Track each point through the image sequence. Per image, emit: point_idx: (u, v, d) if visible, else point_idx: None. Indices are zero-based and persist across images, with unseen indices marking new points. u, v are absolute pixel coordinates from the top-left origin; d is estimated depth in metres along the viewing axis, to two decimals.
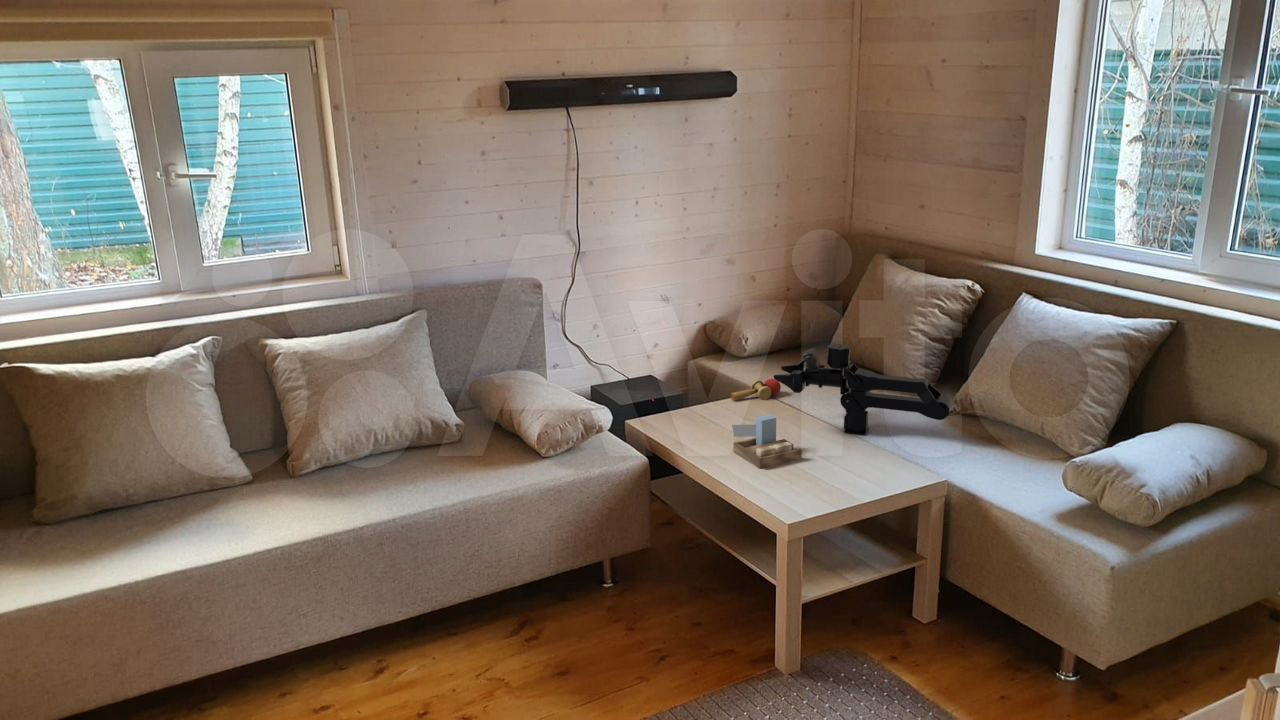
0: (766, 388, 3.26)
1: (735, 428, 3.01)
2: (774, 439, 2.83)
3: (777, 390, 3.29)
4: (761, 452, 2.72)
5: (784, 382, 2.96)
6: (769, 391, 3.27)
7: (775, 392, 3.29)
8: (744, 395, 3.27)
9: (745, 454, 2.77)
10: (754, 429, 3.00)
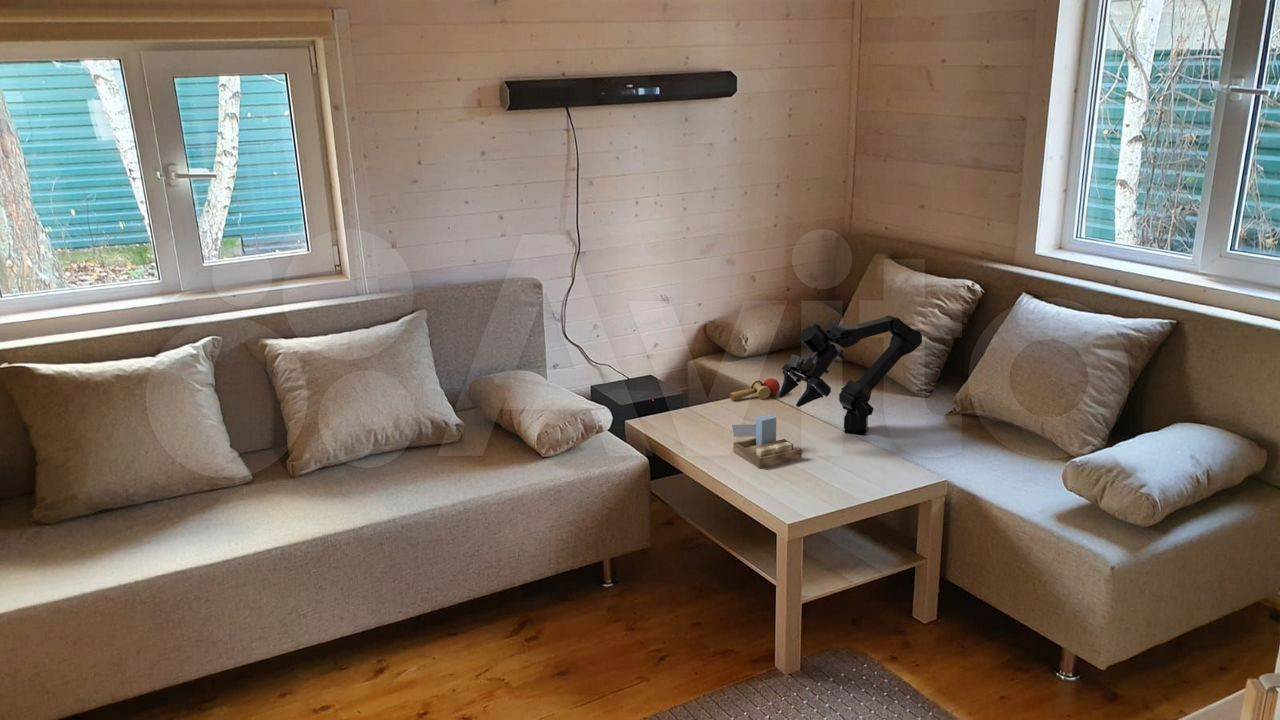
0: (765, 388, 3.26)
1: (735, 428, 3.01)
2: (774, 439, 2.83)
3: (776, 390, 3.29)
4: (761, 452, 2.72)
5: (809, 399, 2.80)
6: (768, 391, 3.27)
7: (774, 392, 3.29)
8: (743, 395, 3.27)
9: (745, 454, 2.77)
10: (754, 429, 3.00)
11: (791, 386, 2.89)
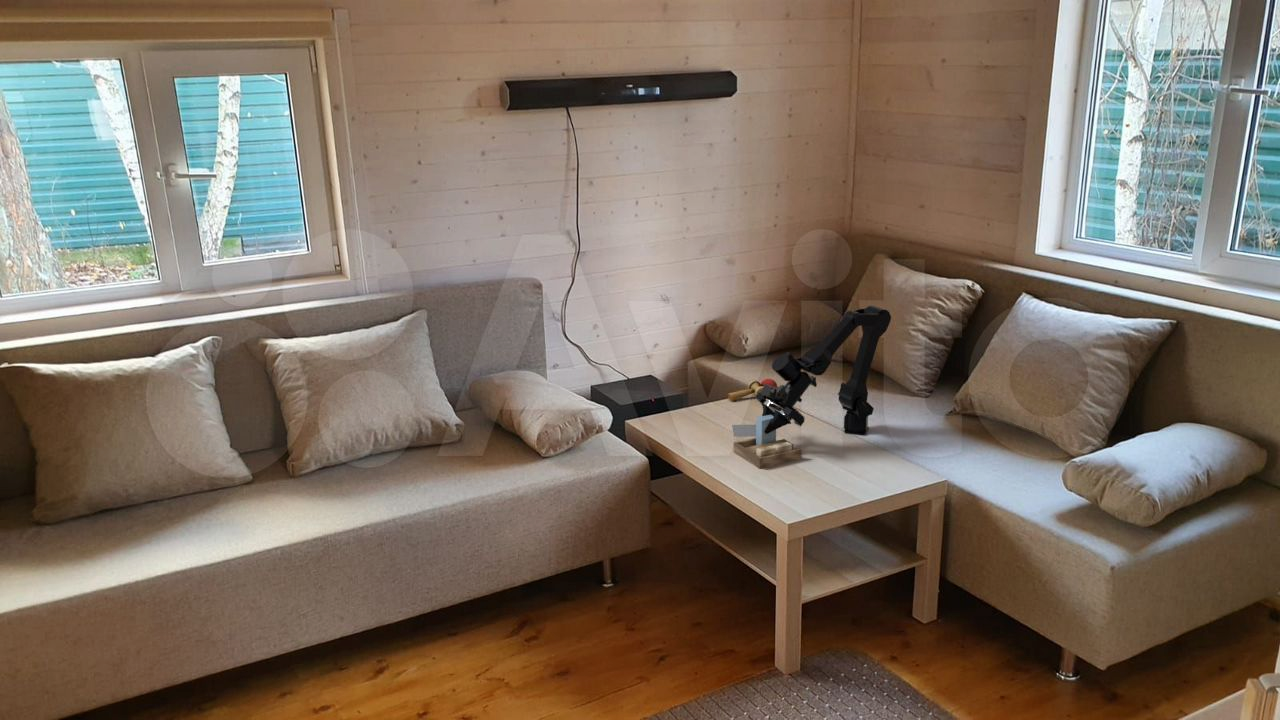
0: None
1: (735, 428, 3.01)
2: (774, 439, 2.83)
3: None
4: (761, 452, 2.72)
5: (777, 426, 2.80)
6: None
7: None
8: (741, 395, 3.27)
9: (745, 454, 2.77)
10: (754, 429, 3.00)
11: None
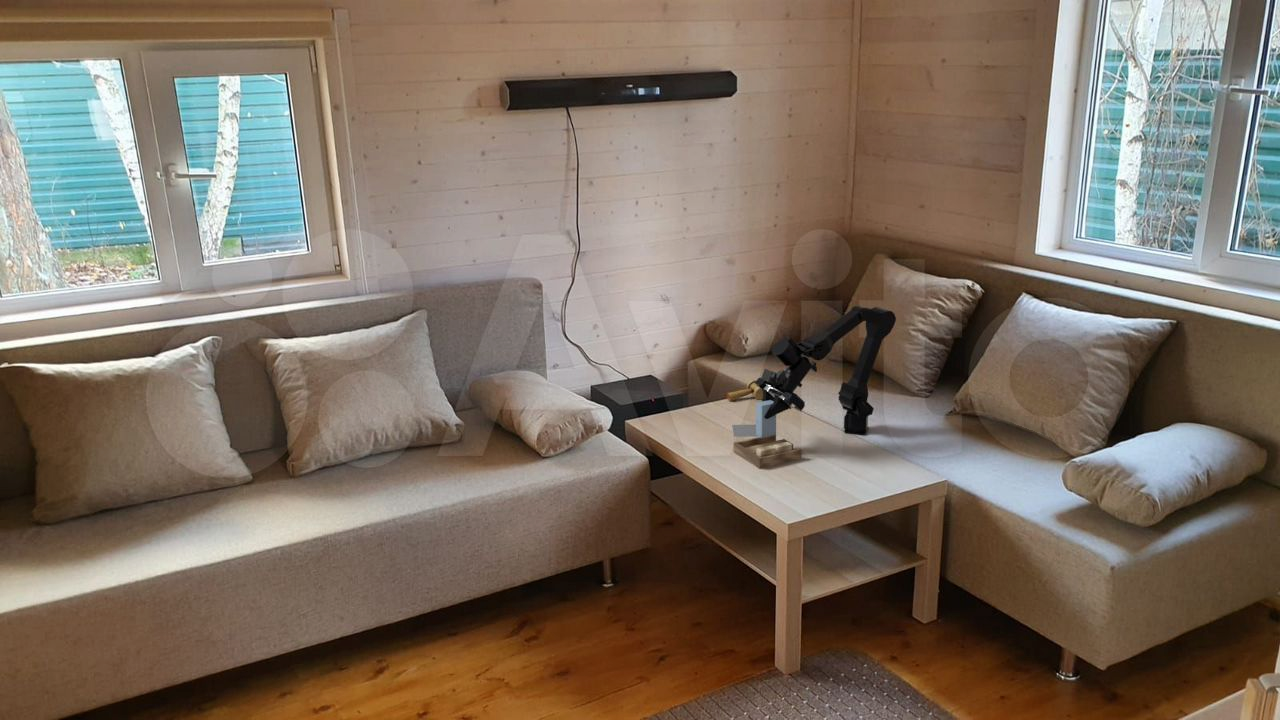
0: None
1: (735, 428, 3.01)
2: (774, 424, 2.81)
3: None
4: (761, 452, 2.72)
5: (777, 411, 2.79)
6: None
7: None
8: (740, 395, 3.27)
9: (745, 454, 2.77)
10: (754, 429, 3.00)
11: None
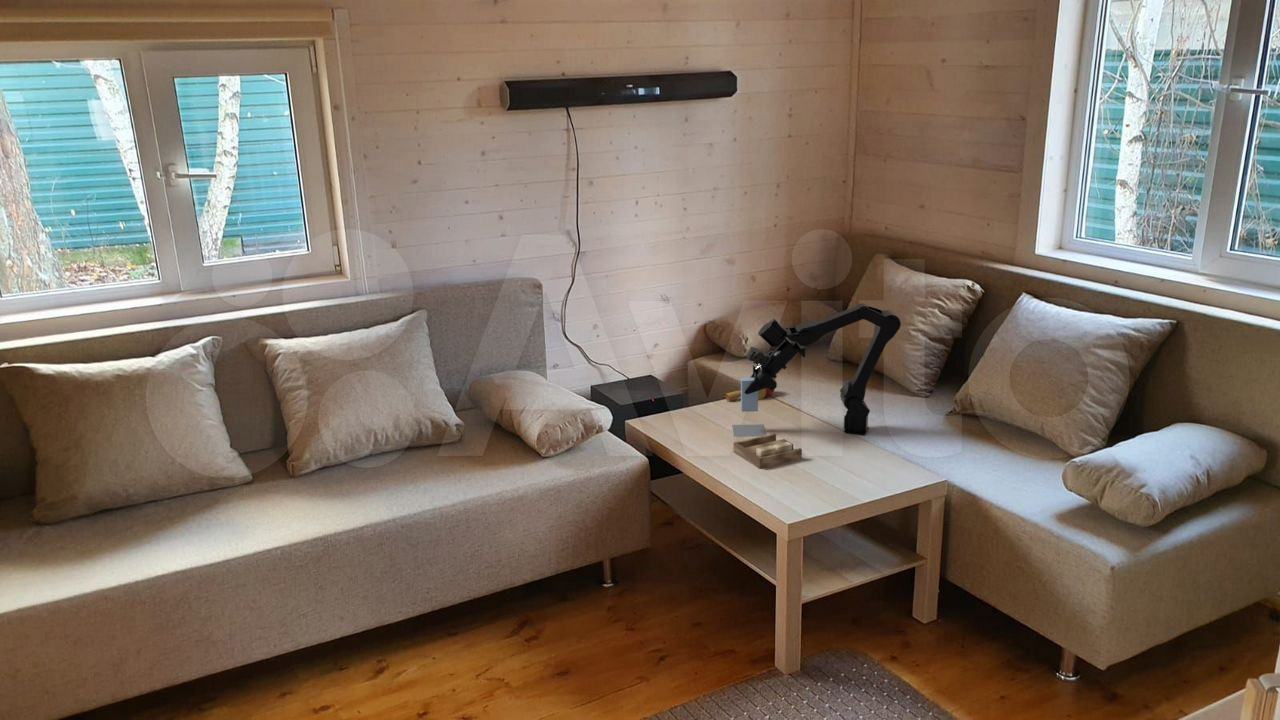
0: None
1: (735, 428, 3.01)
2: (756, 401, 2.94)
3: None
4: (761, 452, 2.72)
5: (757, 388, 2.92)
6: (764, 391, 3.27)
7: (770, 392, 3.29)
8: (739, 395, 3.27)
9: (745, 454, 2.77)
10: (754, 429, 3.00)
11: None
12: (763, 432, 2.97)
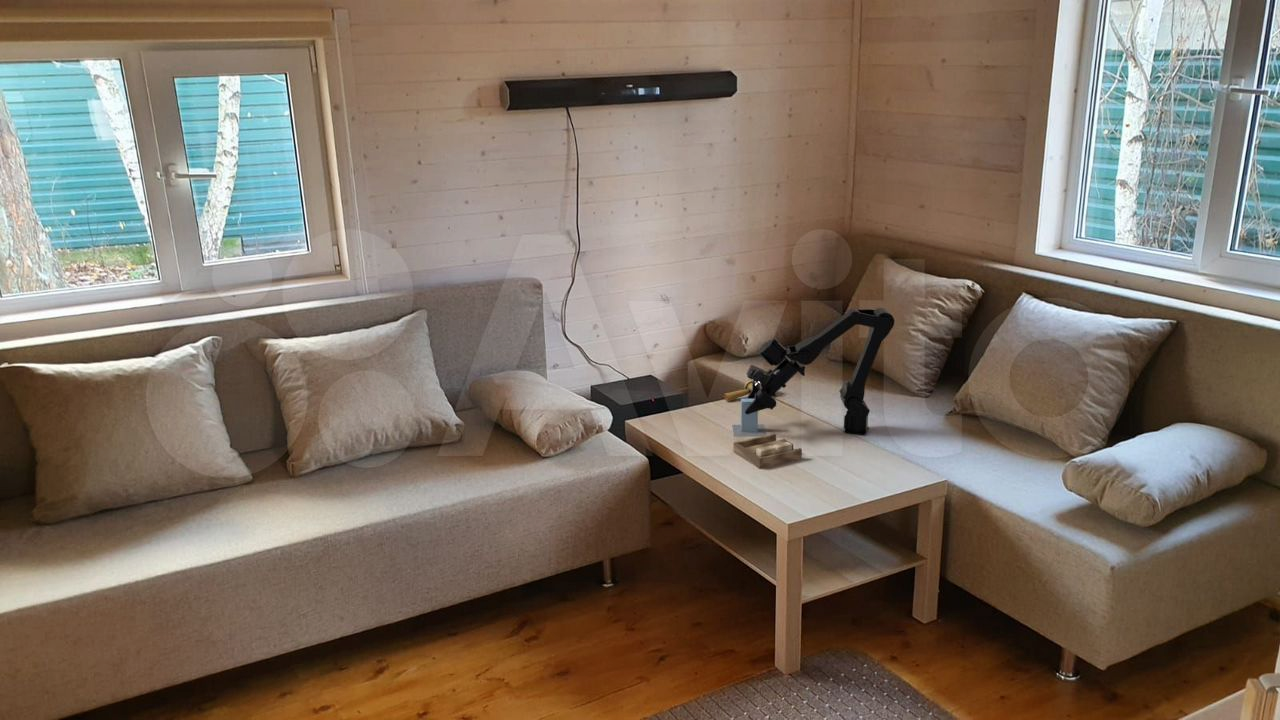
0: None
1: (735, 428, 3.01)
2: (756, 422, 2.96)
3: None
4: (761, 452, 2.72)
5: (757, 409, 2.92)
6: None
7: None
8: (738, 395, 3.27)
9: (745, 454, 2.77)
10: None
11: None
12: (763, 432, 2.97)
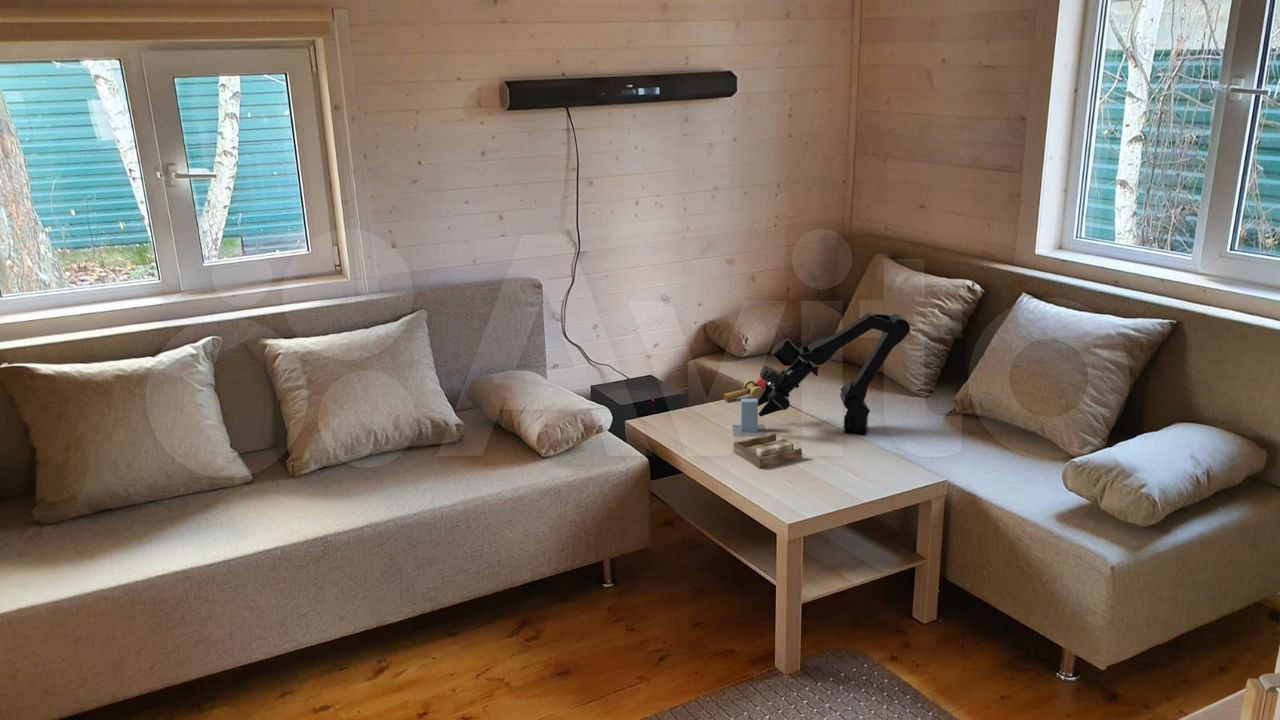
0: (759, 388, 3.27)
1: (735, 428, 3.01)
2: (756, 422, 2.96)
3: None
4: (761, 452, 2.72)
5: (771, 410, 2.91)
6: (761, 391, 3.28)
7: None
8: (737, 396, 3.27)
9: (745, 454, 2.77)
10: None
11: None
12: (763, 432, 2.97)
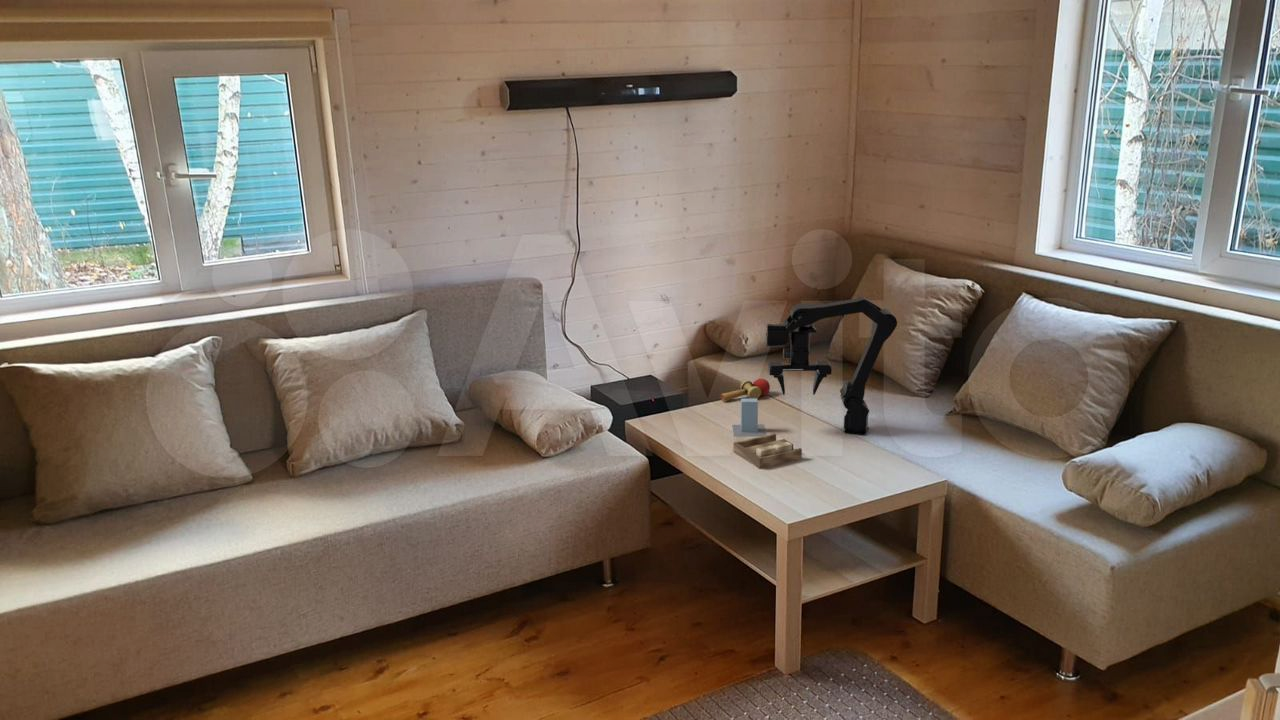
0: (756, 388, 3.27)
1: (735, 428, 3.01)
2: (756, 422, 2.96)
3: (767, 390, 3.29)
4: (761, 452, 2.72)
5: (780, 384, 2.94)
6: (759, 391, 3.28)
7: (765, 392, 3.29)
8: (734, 396, 3.27)
9: (745, 454, 2.77)
10: None
11: (816, 381, 2.93)
12: (763, 432, 2.97)
